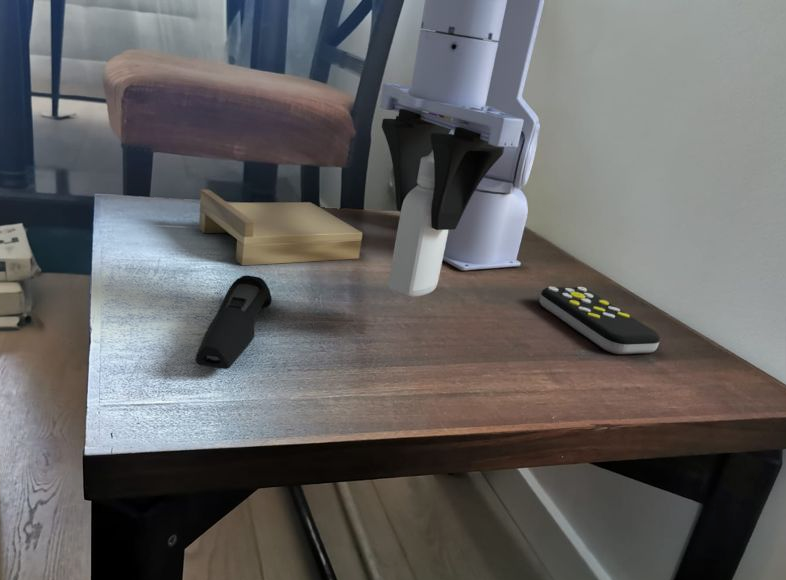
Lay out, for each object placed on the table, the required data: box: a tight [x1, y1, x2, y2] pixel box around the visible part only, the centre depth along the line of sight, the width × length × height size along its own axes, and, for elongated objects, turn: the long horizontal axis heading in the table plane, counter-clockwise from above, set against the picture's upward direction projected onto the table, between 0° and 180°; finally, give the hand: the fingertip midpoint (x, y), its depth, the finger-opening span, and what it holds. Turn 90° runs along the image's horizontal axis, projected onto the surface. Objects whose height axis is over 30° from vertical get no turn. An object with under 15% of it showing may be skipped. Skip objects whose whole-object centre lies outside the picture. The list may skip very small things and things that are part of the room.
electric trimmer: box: [194, 275, 273, 370], centre depth 55 cm, size 4×16×3 cm, turn 177°
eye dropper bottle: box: [387, 150, 448, 298], centre depth 56 cm, size 4×6×12 cm
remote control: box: [538, 286, 661, 355], centre depth 69 cm, size 6×13×2 cm, turn 22°
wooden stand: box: [198, 189, 364, 266], centre depth 77 cm, size 14×12×4 cm
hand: (425, 219), depth 56 cm, fingers closed on eye dropper bottle, 4 cm apart
